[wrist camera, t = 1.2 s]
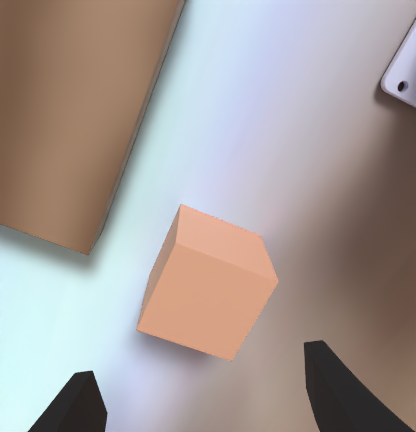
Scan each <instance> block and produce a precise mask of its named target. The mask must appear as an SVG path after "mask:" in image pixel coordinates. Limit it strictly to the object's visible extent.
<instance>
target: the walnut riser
mask: <svg viewBox="0 0 416 432" xmlns="http://www.w3.org/2000/svg"><path fill="white" fill-rule="evenodd" d="M184 3H185V0H0V224H1V225H4V226H7V227H10V228H13V229H16V230H18V231H21V232H24V233H27V234H30V235H32V236H35V237H38V238H41V239H44V240H47V241H49V242H52V243H55V244H58V245H61V246H63V247H66V248H69V249H72V250H75V251H78V252H80V253H83V254H86V255H89V253H90V251H91V250H92V248H93V246H94V245H95V243H96V241H97V240H98V238H99V236H100V235H101V232H102V229H103V226H104V224H105V221H106V218H107V215H108V213H109V210H110V207H111V204H112V202H113V199H114V196H115V193H116V191H117V188H118V185H119V182H120V180H121V177H122V174H123V171H124V169H125V166H126V163H127V160H128V158H129V155H130V152H131V149H132V146H133V144H134V141H135V138H136V135H137V133H138V130H139V127H140V124H141V122H142V119H143V116H144V113H145V111H146V108H147V105H148V102H149V100H150V97H151V94H152V91H153V89H154V86H155V83H156V80H157V77H158V75H159V72H160V69H161V66H162V64H163V61H164V58H165V55H166V53H167V50H168V47H169V44H170V42H171V39H172V36H173V33H174V31H175V28H176V25H177V22H178V20H179V17H180V14H181V11H182V8H183V6H184Z"/></svg>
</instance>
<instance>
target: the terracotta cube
mask: <svg viewBox="0 0 416 432" xmlns="http://www.w3.org/2000/svg"><path fill="white" fill-rule="evenodd" d="M278 282H279V281H278V279H277V276H276V273H275V271H274V268H273V266H272V263H271V261H270V258H269V255H268V253H267V250H266V248H265V245H264V243H263V240H262V237H261V236H260V235H258V234H255V233H253V232H250V231H248V230H245V229H243V228H240V227H238V226H235V225H233V224H230V223H228V222H225V221H223V220H220V219H218V218H215V217H213V216H210V215H208V214H205V213H203V212H200V211H198V210H195V209H193V208H190V207H188V206H185V205H183V204H181V205H180V207H179V209H178V211H177V214H176V216H175V218H174V221H173V223H172V225H171V227H170V230H169V232H168V234H167V237H166V239H165V241H164V243H163V246H162V248H161V250H160V253H159V255H158V257H157V259H156V262H155V264H154V266H153V269H152V271H151V273H150V276H149V280H148V284H147V288H146V292H145V296H144V300H143V304H142V309H141V313H140V317H139V321H138V325H137V329H136V330H137V331H140V332H144V333H147V334H150V335H153V336H156V337H159V338H162V339H165V340H168V341H171V342H174V343H177V344H180V345H183V346H186V347H189V348H192V349H196V350H199V351H202V352H205V353H208V354H211V355H214V356H217V357H220V358H223V359H226V360H229V361H232V360H233V358H234V356H235V355H236V353H237V351H238V350H239V348H240V346H241V345H242V343H243V341H244V340H245V338H246V336H247V334H248V333H249V331H250V329H251V328H252V326H253V324H254V323H255V321H256V319H257V318H258V316H259V314H260V313H261V311H262V309H263V307H264V306H265V304H266V302H267V301H268V299H269V297H270V296H271V294H272V292H273V291H274V289H275V287H276V286H277V284H278Z"/></svg>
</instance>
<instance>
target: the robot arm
mask: <svg viewBox="0 0 416 432" xmlns="http://www.w3.org/2000/svg"><path fill="white" fill-rule="evenodd" d="M400 82H403V83H404V88H403V90H402V91H400V92H399V91H398V84H399V83H400ZM381 88H382V90H383V91H384V92H386V93H388V94H390V95H392V96H394V97H396V98H398V99H400V100H402V101H403V102H405V103H407V104H409V105H411V106H413V107H415V108H416V20H415V22H414V24H413V26H412V27H411V29H410V31H409V32H408V34H407V36H406V38H405V39H404V41H403V43H402V45H401V46H400V48H399V50H398V52H397V53H396V55H395V57H394V58H393V60H392V62H391V64H390V65H389V67H388V69H387V71H386V72H385V74H384V76H383V78H382V80H381ZM304 355H305V375H306V389H307V393H308V396H309V400H310V403H311V407H312V410H313V413H314V417H315V420H316V423H317V425H318V428H319V430H320V432H415V431H414V430H412V429H411V428H410V427H409V426H408V425H406V424H405V423H404V422H403V421H402V420H401V419H399V418H398V417H397V416H396V415H395V414H394V413H393V412H392V411H391V410H389V409H388V408H387V407H386V406H385V405H384V404H383V403H382V402H381V401H380V400H379V399H378V398H377V397H375V396H374V395H373V394H372V393H371V392H370V391H369V390H368V389H367V388H366V387H365V386H364V385H363V384H362V383H361V382H360V381H359V380H358V379H357V378H356V377H355V375H354V374H353V373H352V372H351V371H350V370H349V369H348V368H347V367H346V366H345V365H344V364H343V363H342V361H341V360H340V359H339V358H338V357H337V356H336V355H335V353H334V352H333V351H332V350H331V349H330V348H329V346H328V345H327V344H326V343H325V342H324V341H322V340H320V341H313V342H305V343H304ZM106 420H107V411H106V408H105V405H104V402H103V399H102V396H101V393H100V391H99V388H98V385H97V382H96V379H95V376H94V373H93V371H85V372H78V373H75V374H74V375H73V376H72V377H71V378H70V380H69V381H68V382H67V383H66V385H65V386H64V387H63V388H62V390H61V391H60V392H59V393H58V395H57V396H56V397H55V399H54V400H53V401H52V402H51V404H50V405H49V406H48V407H47V409H46V410H45V411H44V412H43V414H42V415H41V416H40V417H39V419H38V420H37V421H36V422H35V423H34V425H33V426H32V427H31V428H30V430H29V431H28V432H105V427H106Z"/></svg>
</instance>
